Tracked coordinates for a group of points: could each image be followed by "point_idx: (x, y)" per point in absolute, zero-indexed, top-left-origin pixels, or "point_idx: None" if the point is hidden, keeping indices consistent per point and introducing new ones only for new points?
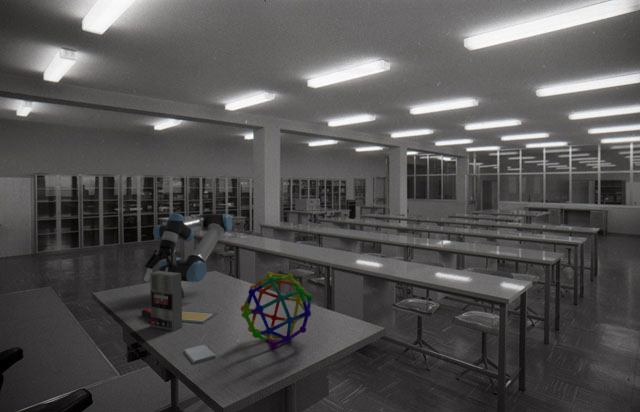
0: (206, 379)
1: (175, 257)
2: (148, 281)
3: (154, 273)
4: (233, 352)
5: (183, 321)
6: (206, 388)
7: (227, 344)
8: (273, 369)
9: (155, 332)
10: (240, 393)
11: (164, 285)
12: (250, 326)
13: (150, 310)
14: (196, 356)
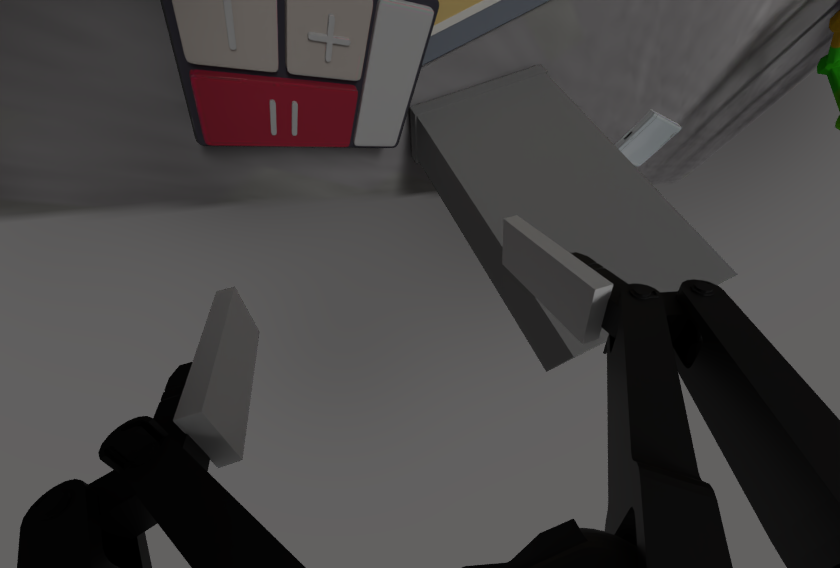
0: (659, 170)
1: (831, 436)
2: (236, 292)
3: (574, 357)
4: (725, 81)
5: (516, 14)
6: (660, 179)
7: (719, 58)
8: (789, 78)
9: None
10: (706, 156)
11: None
12: (834, 91)
13: (296, 130)
14: (641, 156)
